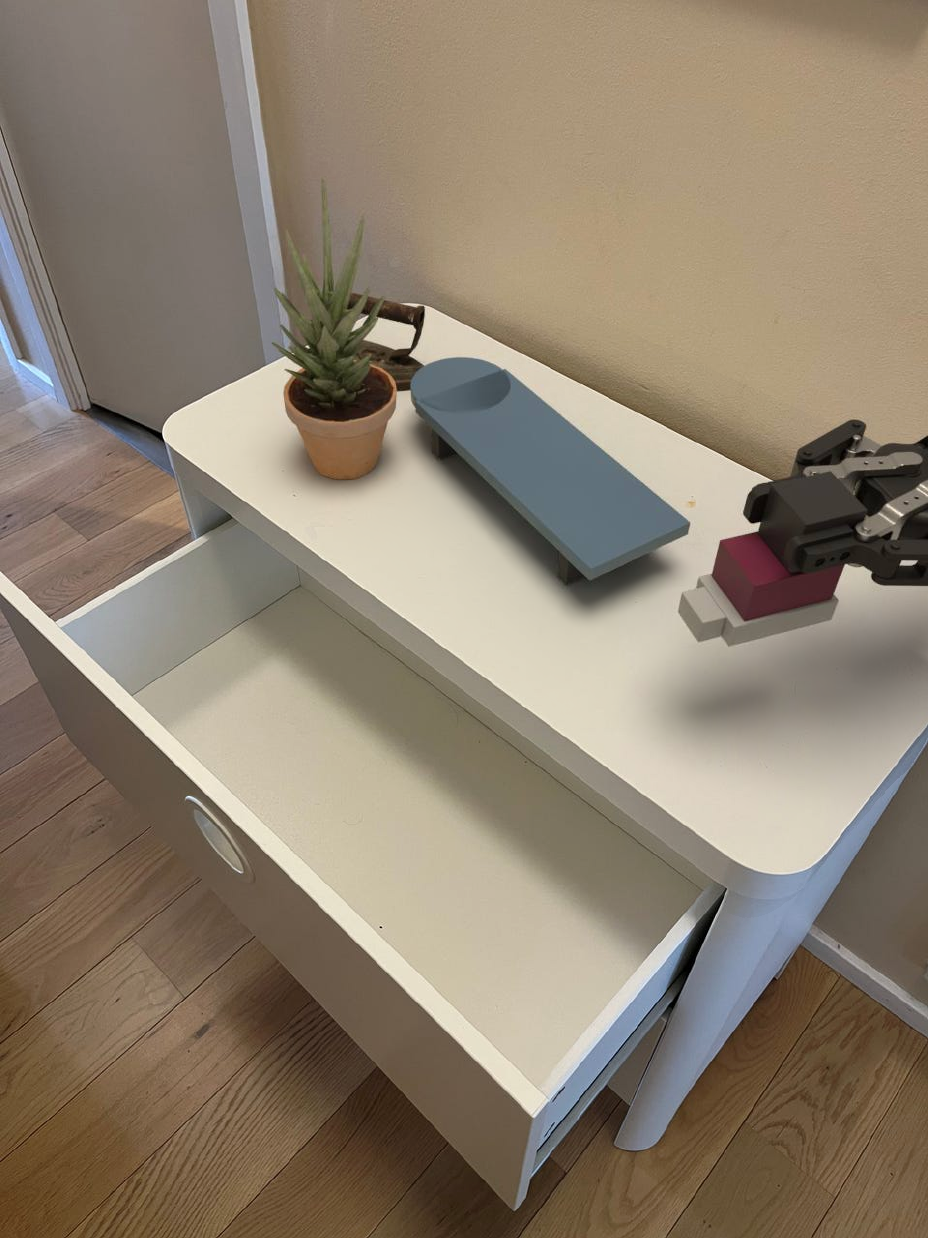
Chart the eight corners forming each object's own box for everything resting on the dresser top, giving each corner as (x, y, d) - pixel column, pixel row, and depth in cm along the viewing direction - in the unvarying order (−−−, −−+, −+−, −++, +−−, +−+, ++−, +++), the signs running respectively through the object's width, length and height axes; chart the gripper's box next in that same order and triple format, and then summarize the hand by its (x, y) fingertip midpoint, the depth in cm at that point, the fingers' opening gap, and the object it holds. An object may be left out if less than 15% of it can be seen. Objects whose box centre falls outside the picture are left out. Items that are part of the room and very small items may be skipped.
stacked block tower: (792, 572, 63) (827, 466, 57) (831, 620, 60) (872, 514, 54) (670, 602, 61) (692, 496, 55) (704, 653, 58) (731, 547, 52)
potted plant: (418, 472, 85) (406, 190, 67) (318, 505, 82) (277, 219, 64) (371, 413, 91) (348, 140, 73) (276, 442, 88) (228, 164, 70)
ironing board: (680, 570, 77) (690, 522, 73) (584, 616, 73) (591, 569, 69) (477, 391, 94) (478, 345, 90) (392, 422, 90) (389, 376, 86)
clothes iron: (338, 349, 100) (355, 259, 93) (438, 391, 99) (463, 303, 92) (310, 379, 95) (326, 286, 88) (416, 423, 94) (440, 333, 87)
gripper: (962, 359, 61) (719, 409, 58) (1133, 494, 52) (856, 563, 48) (923, 455, 67) (698, 506, 63) (1071, 593, 57) (818, 662, 54)
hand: (768, 531), depth 56 cm, fingers closed on stacked block tower, 4 cm apart
